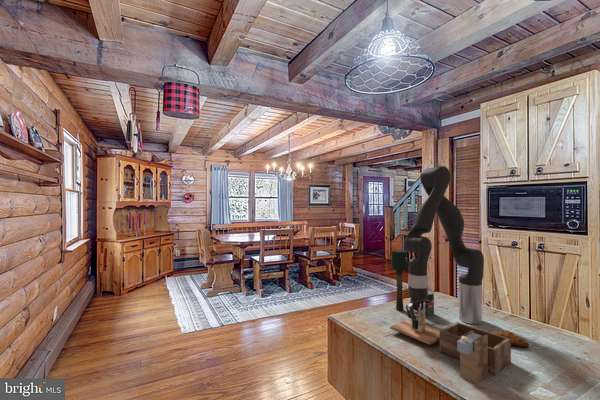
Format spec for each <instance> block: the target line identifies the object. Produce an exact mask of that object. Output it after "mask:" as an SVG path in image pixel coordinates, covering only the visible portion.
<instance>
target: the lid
mask: <svg viewBox="0 0 600 400" xmlns="http://www.w3.org/2000/svg"><path fill="white" fill-rule="evenodd" d="M414 314H415V313H414ZM415 317H416V314H415ZM389 329H390V330H391V331H395V332H398V333H401V334H403V335H405V336H407V337H410V338H413V339H414V340H417V341H420V342H422V343H425V344H426V345H430V346H431V345H433V344H435V343H437V342H438V341H439V342H440V330H441V329H437V328H435V327H432V326H429V325H426V317H425V315H423V314H419V315H418V329H414V328H413V327H412V319H411V318H407V319H405V320H402V321H400V322H398V323H394V324H393V325H390V327H389Z"/></svg>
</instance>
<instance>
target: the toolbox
mask: <svg viewBox="0 0 600 400" xmlns="http://www.w3.org/2000/svg"><path fill="white" fill-rule="evenodd" d="M439 330H440V340H439V354H442V355H444V356H446V357H449V358H452V359H454V360H456V361H458V362H459V374H460V375H459V377H461V378H463V379H464V380H465V379H466V380H468V381H470V382H472V383H474V384H478V383H479V382H480V381H482V380H483V379H484V378H486V377H487V376H488V375H489V374H490V375H492V376H496V375H498V374H499V373H500V372H501V371H503V369H505V368H506V367H507V366H509V365H510V364H511V363H512V345H511V339H509V338H506V337H503V336H500V335H497V334H494V333H490V331H486V330H484V329H481V328H478V327H475V326H470V325H468V324H465V323H461V322H459V321H456V322H455V323H452V324H451V325H448V326H446V327H445V328H444V327H443V328H442V329H439ZM472 332H473V333H476V334H479V335H482V337H481V338H479V339H478V340H476V341H474V351H473V352H471V353H470V354H468V355H467V354H464V353H462V352H459V351H457V341H458V340H460V339H462V336H467V335H469V334H470V333H472Z"/></svg>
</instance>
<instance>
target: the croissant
mask: <svg viewBox="0 0 600 400" xmlns="http://www.w3.org/2000/svg"><path fill="white" fill-rule="evenodd" d="M489 332H490V331H489ZM490 333H494V334H497V335H500V336H503V337H506V338H509V339H511V346H514V347H519V348H526V349H527V348H529V346H530V345H529V342H528V341H526V340H525V339H524V338H522V337H521V336H518V335H516V334H515V333H513V332H511V331H510V330H508V329H507V330H500V331H491V332H490Z"/></svg>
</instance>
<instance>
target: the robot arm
mask: <svg viewBox="0 0 600 400" xmlns="http://www.w3.org/2000/svg"><path fill="white" fill-rule="evenodd" d="M419 178H420V183H421V185H422V188H423V190H424V191H425V192H426V194H427V198H426V199H425V200H424V202H423V203H421V205H420V207H419V208H418V210H417V212H416V216H415V219H414V222H413V225H412V227H411V228H410V229H409V232H408V233H407V234H406V236H405V238H404V242H403V246H404V250H405V251H407V253H413V254H418V255H417V258H410V260H409V261H408V276H407V288H408V289H407V294H408V297H409V298H410V301H409V302H410V303H409V304H406V305H405V309H406V310H405V311H406V314H407V316H408V317H407V319H410V320H411V319H412V327H413V328H414V329H418V315H419V314H423V315H427V314H428V309H429V303H430V301H429V300H426V298H428V290H429V279H428V262H429V257H430V255H431V252H432V246H433V244H432V241H431V240H430V239H429V237H426V236H422V235H424V234H428V233H430V232H431V230H432V229H433V225H434V221H435V217H436V215H437V218H438V219H439V222H440V224H441V226H442V229H443V230H444V234H445V236H446V238H447V240H448V244H449V245H450V246H449V247H450V248H451V249H450V250H451V253H452V256H453V259H454V261H455V263H456V265H457V266H459V267H461V268H466V269H467V273H466V274H461V275H459V276H458V306H459V307H458V314H459V315H458V316H459V317H458V319H459V320H460V321H461V322H463V323H464V324H465V323H466V324H469V325H480V324H482V323H483V290H482V289H483V286H482V285H483V278H484V269H485V268H484V267H485V266H484V265H485V258H484V253H483V251H481V250H479V249H475V248H471V247H470V248H469V247H466V245H465V244H464V241H463V236H462V235H463V233H464V229H465V220H464V217H463V214H462V212H461V210H460V209H459V207H458V206H457V205H456V204H455V203H454V202H452V201H451V200H450V199H449V198H447V197H446V196H445V193H446V192H447V190H448V187H449V185H450V181H451V178H452V174H451V172H450V169H449V168H448V167H447V166H444V165H438V166H434V167H430V168H424V169H423V170H421V172H420V177H419ZM425 308H426V310H425ZM414 313H415V314H416V317H415V314H414Z"/></svg>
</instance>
